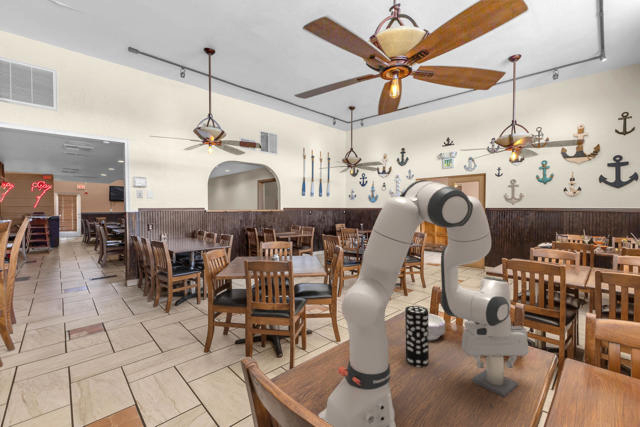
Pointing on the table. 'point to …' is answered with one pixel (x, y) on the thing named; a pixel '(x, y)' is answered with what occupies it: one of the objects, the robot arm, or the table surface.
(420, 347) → the spotted tube
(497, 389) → the plate
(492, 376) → the shaker
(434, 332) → the paper bowls
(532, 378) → the table surface
